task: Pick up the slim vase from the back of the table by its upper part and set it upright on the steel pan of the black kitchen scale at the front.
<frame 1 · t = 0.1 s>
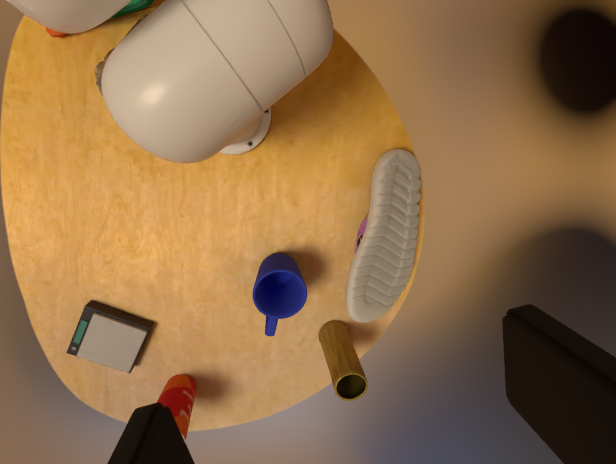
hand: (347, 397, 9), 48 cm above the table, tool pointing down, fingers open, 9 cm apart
paper cup: (182, 385, 63), on the table
mug: (276, 278, 59), on the table
vase: (333, 333, 64), on the table
scale: (113, 334, 59), on the table
sandal: (391, 240, 52), point 7 cm above the table
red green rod: (104, 21, 44), point 2 cm above the table
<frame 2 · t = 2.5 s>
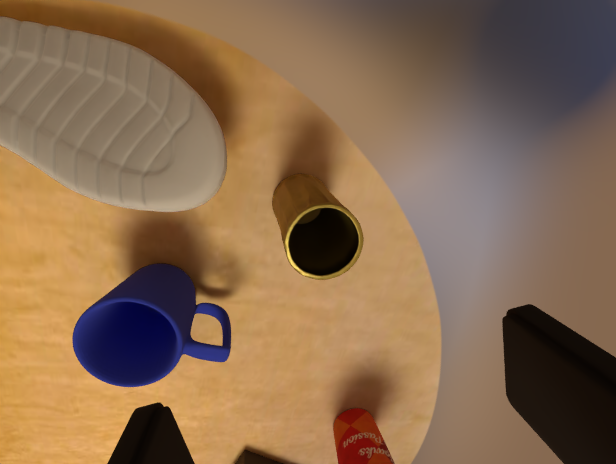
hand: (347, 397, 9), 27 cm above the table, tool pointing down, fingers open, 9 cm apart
paper cup: (352, 423, 44), on the table
mug: (183, 292, 36), on the table
vase: (301, 202, 35), on the table
sandal: (25, 98, 23), point 7 cm above the table
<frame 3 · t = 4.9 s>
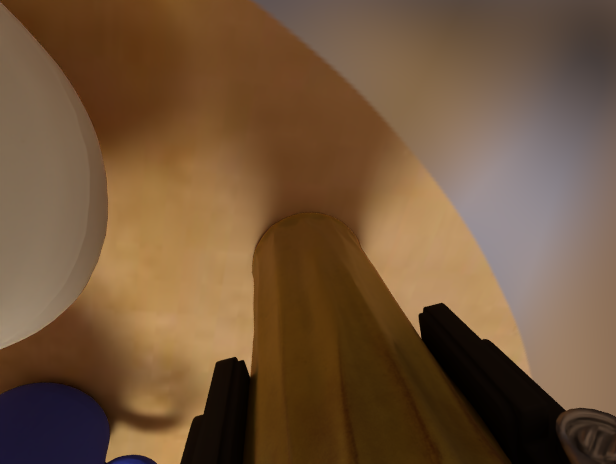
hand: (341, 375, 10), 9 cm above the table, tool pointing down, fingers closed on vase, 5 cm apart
mug: (92, 424, 20), on the table
vase: (307, 263, 18), on the table, touching gripper
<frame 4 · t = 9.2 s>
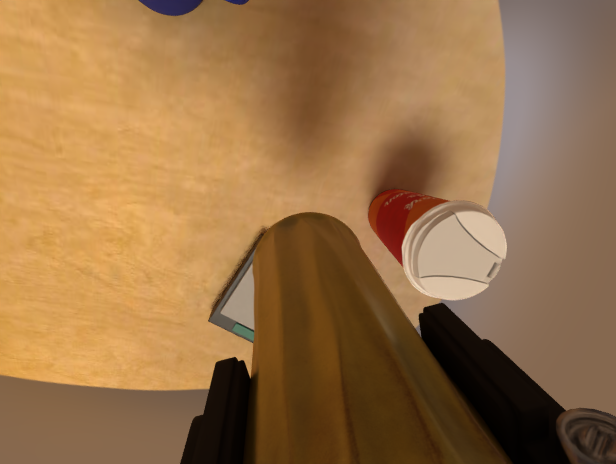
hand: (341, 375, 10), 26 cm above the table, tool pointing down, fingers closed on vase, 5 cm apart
paper cup: (391, 213, 37), on the table
vase: (307, 263, 18), point 17 cm above the table, touching gripper
scale: (274, 294, 38), on the table
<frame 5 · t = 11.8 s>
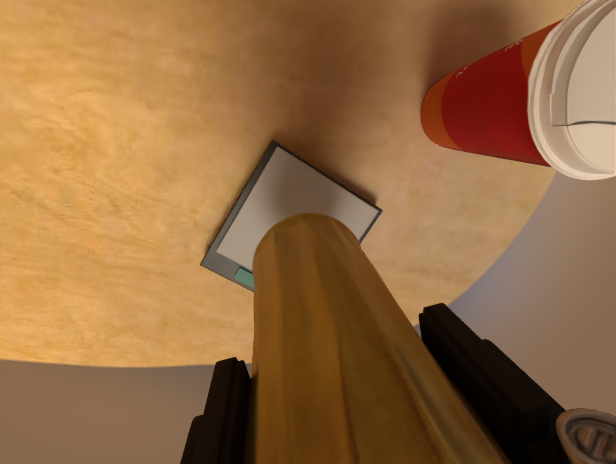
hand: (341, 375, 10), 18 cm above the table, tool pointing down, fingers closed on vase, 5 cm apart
paper cup: (451, 111, 26), on the table
vase: (307, 263, 18), point 9 cm above the table, touching gripper
scale: (290, 230, 27), on the table
when the fingers open (11 cm above the table, at t = 13.8 s): vase stays where it is, resting on scale.
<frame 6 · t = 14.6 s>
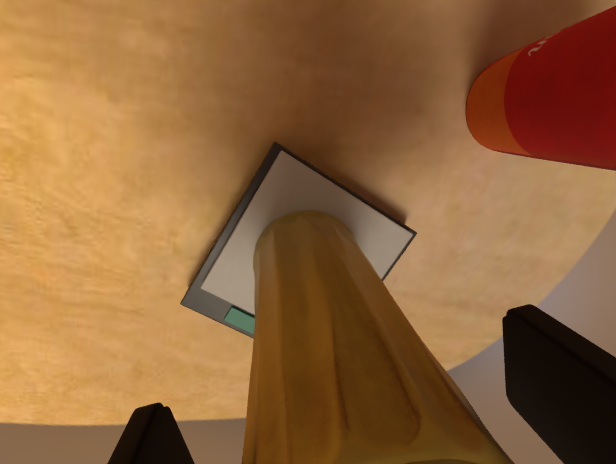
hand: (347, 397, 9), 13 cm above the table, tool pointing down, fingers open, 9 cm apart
paper cup: (505, 105, 20), on the table
vase: (306, 259, 19), point 2 cm above the table, touching scale
scale: (297, 256, 21), on the table
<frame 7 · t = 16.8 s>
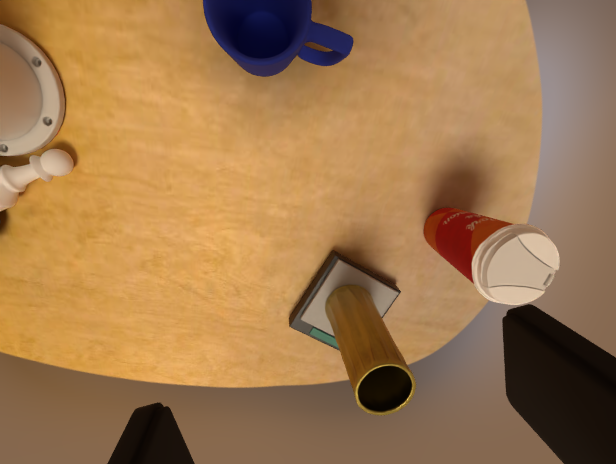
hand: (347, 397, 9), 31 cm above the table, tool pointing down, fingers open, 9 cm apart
paper cup: (443, 228, 42), on the table
mug: (281, 50, 35), on the table
vase: (348, 305, 41), point 2 cm above the table, touching scale
scale: (342, 301, 43), on the table
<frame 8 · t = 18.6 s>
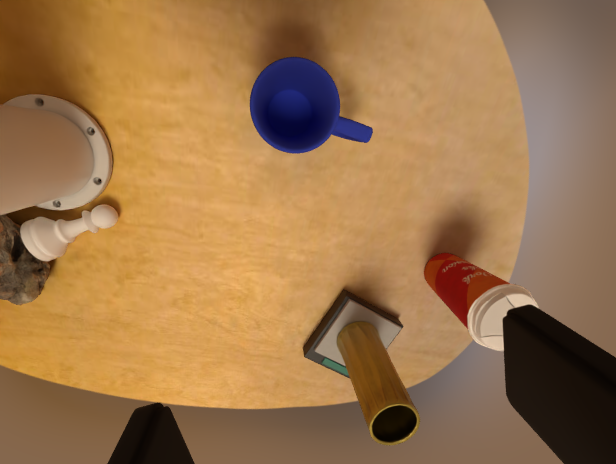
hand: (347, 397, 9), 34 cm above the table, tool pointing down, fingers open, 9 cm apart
paper cup: (441, 270, 47), on the table
mug: (304, 119, 40), on the table
chess pawn: (34, 242, 37), point 3 cm above the table, touching rock
vase: (357, 338, 46), point 2 cm above the table, touching scale
rock: (42, 246, 40), on the table, touching chess pawn
scale: (350, 333, 48), on the table
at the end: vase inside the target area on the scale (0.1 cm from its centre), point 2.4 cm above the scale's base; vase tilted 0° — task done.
